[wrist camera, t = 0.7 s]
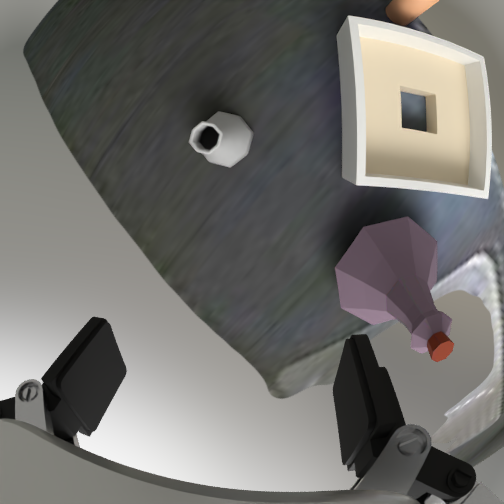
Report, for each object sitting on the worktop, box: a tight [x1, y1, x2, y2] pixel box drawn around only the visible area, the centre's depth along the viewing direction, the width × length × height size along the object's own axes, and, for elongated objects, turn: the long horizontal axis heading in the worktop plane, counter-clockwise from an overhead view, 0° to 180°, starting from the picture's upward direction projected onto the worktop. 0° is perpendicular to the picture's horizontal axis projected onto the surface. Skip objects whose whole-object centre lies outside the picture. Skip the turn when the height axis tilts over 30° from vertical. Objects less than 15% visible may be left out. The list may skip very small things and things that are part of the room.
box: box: [336, 16, 492, 199], centre depth 26 cm, size 20×20×7 cm
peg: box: [386, 0, 439, 26], centre depth 19 cm, size 4×4×10 cm
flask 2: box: [335, 216, 454, 362], centre depth 28 cm, size 16×16×20 cm
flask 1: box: [189, 111, 254, 168], centre depth 29 cm, size 7×7×10 cm
